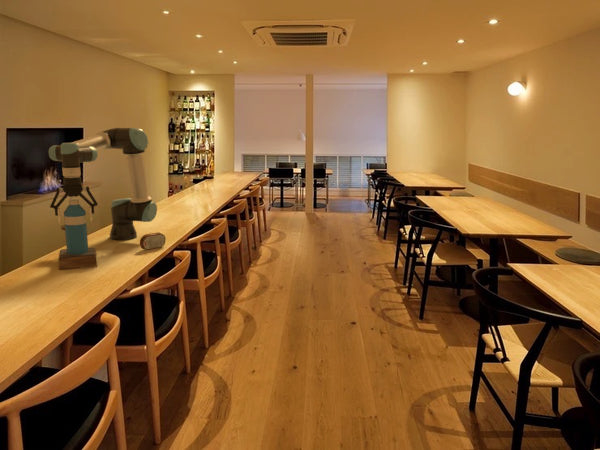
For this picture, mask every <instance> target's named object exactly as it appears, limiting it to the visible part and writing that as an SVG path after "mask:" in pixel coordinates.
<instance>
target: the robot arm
mask: <svg viewBox="0 0 600 450" xmlns="http://www.w3.org/2000/svg"><path fill="white" fill-rule="evenodd" d="M148 144H149V140H148V136H147V134H146V132H145V131H144V130H143V129H141V128H135V127H114V128H110V129H105V130H103V131H99V132H97V133H96V134H95V135H92V136H90V137H85V138H82V139H79V140H78V139H77V140H75V141H73V142H72V141H71V142H62V143H61V144H60V145H58V144H55V145H52V146H50V148H49V149H48V156H49V159H51V160H52V161H57V162H61V164H62V165H61V168H62V169H61V170H62V176H63V178H62V179H63V187H59V186H57V187H56V192H55V195H54V198H53V199H52V201H51V204H50V206H49V208H51V209H54V215H55V216H57V220H58V224H61V222H62V221H61V220H62V219H61V210H60V208H59V207H60V206H61V205H62V204H63V202H64V201H65V200H66V199H67V198H68V196H69V197H75V198H76V197H80V198H82V200H83V201H85V203H87V204H88V205H89V217H90V218H89V219H90V222H93V215H94V214H95V207H97V206H98V202H97V200H96V198H95V197H94V195H93V194H92V192H91V191H90V187H89V186H88V185H87V186H84V187H83V186H82V185H83V184H82V173H81V163H91V162H94V161H96V160H97V159H98V156H99V155H98V151H99V150H103V151H104V150H105V151H106V150H108V149H111V150H112V149H114V150H122V154H123V155H124V156H125V157H126V161H127V169H128V174H129V181H130V188H131V196H132V197H125V198H118V199H113V200H111V205H110V210H111V211H110V212H111V228H110V232H109V239H110V240H117V241H123V240H125V241H126V240H131V239H132V240H133V239H135V238H137V236H138V234H137V231H136V228H135V225H134V222H140V223H141V222H142V223H146V222H147V223H150V222H152V221H154V219H155V217H156V216H157V212H158V206H157V205H158V204H157V203H156V202H154V201H153V200H152V197H151V196H150V195H149V191H148V185H147V178H146V172H145V171H146V170H145V165H144V163H145V162H144V156H143V155H144V153H145V152H146V151H145V150H146V149H147V148H148ZM62 191H63V192H64V193H65V194H64V195H63V196H62V197H61V199H60V200H59V201H58V202H57V203H56V201H57V199H58V197H59V196H60V193H62ZM83 191H85V192H86V193H87V195H88V197H90V199H91V200H89V199H88V198H87V197H86V196H85V195H84V194H83V193H82V192H83ZM92 202H93V203H92Z"/></svg>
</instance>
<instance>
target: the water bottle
mask: <svg viewBox="0 0 600 450" xmlns="http://www.w3.org/2000/svg"><path fill="white" fill-rule="evenodd" d="M63 219H64V225H65V230H64V234H65V244H66V245H65V246H66V249H67V253H69V254H82V253H86V252H88V247H89V239H88V229H87V228H88V227H87V213H86V210H85V209H84V208H83V207H82V205H81V204H80V201H79V199H73V200H69V199H68V206H67V207H66V209H65V210H64V211H63Z"/></svg>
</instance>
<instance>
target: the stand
mask: <svg viewBox="0 0 600 450" xmlns="http://www.w3.org/2000/svg"><path fill="white" fill-rule="evenodd" d="M96 250H97V249H96V247H95V246H91V247H89V246H88V252H86V253H82V254H69V253H67V248H63V249H60V250H59V253H58V259H57V260H58V270H59V271H65V270H66V271H67V270H76V269H78V268H79V269H88V268H98V263H97V260H98V259H97V252H96Z"/></svg>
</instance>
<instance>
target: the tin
mask: <svg viewBox="0 0 600 450" xmlns="http://www.w3.org/2000/svg"><path fill="white" fill-rule="evenodd" d="M165 244H166V236H165V234H163V233H161V232H153V233H152V232H151V233H147V234H144V235H142V236H141V238H140V240H139V246H140V247H141V249H143V250H146V251H150V250H154V249H160V248H162V247H163V246H165Z"/></svg>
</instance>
